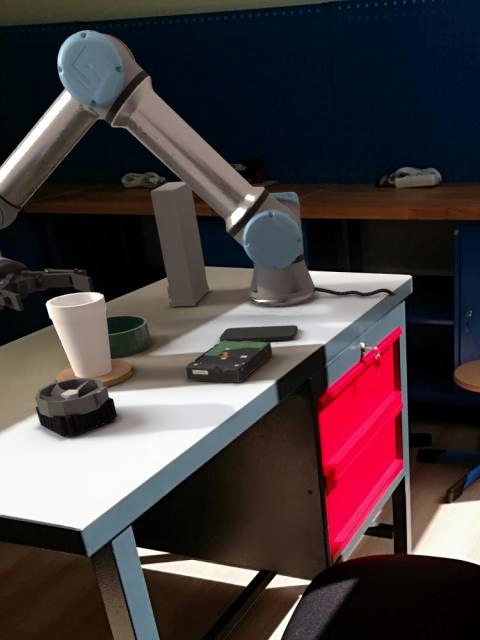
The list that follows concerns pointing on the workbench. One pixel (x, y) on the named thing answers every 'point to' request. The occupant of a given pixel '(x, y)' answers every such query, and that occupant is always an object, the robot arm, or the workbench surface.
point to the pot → (127, 335)
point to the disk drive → (229, 361)
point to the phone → (259, 333)
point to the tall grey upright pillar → (180, 243)
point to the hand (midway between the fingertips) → (56, 294)
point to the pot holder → (116, 375)
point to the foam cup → (83, 332)
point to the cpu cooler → (74, 406)
